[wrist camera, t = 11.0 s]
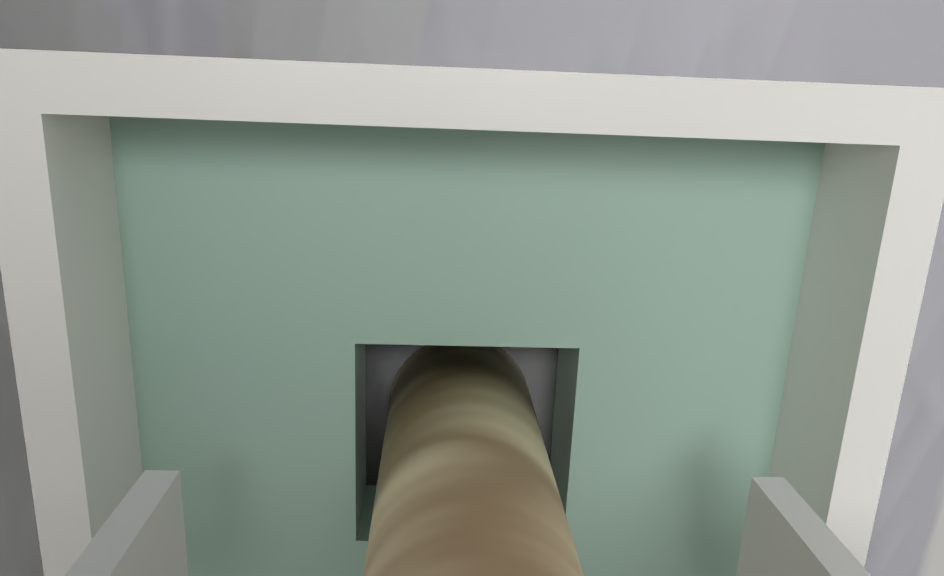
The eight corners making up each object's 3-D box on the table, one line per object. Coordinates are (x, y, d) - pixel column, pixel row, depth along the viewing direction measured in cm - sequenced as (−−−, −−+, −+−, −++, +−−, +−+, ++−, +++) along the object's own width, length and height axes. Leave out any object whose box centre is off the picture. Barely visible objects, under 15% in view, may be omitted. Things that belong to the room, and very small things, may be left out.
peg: (390, 463, 23) (323, 981, 10) (390, 335, 22) (317, 723, 9) (524, 464, 23) (641, 971, 10) (532, 338, 22) (676, 720, 9)
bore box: (163, 662, 25) (80, 835, 19) (107, 59, 20) (-31, 47, 14) (726, 659, 26) (808, 823, 20) (819, 88, 21) (967, 89, 15)
